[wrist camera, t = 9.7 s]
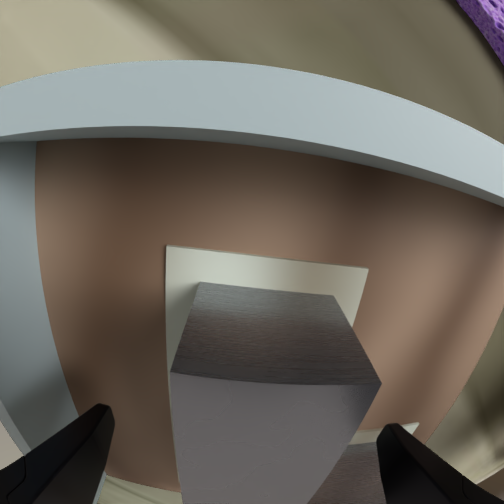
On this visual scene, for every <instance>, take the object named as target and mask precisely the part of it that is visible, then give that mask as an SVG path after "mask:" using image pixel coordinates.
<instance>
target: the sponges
mask: <svg viewBox="0 0 504 504" xmlns="http://www.w3.org/2000/svg"><path fill="white" fill-rule="evenodd" d="M456 1H457V2H458V4H459V5H460V6H461V8H462V9H463V10H464V11H465V12H466V13H467V14H468V16H469V17H470V18H471V19H472V21H473V22H474V23H475V25H476V26H477V27H478V28H479V30H480V31H481V32H482V34H483V35H484V37H485V38H486V40H487V41H488V42H489V44H490V45H491V47H492V48H493V50H494V51H495V53H496V54H497V56H498V57H499V59H500V60H501V62H502V64H503V65H504V0H456Z"/></svg>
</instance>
